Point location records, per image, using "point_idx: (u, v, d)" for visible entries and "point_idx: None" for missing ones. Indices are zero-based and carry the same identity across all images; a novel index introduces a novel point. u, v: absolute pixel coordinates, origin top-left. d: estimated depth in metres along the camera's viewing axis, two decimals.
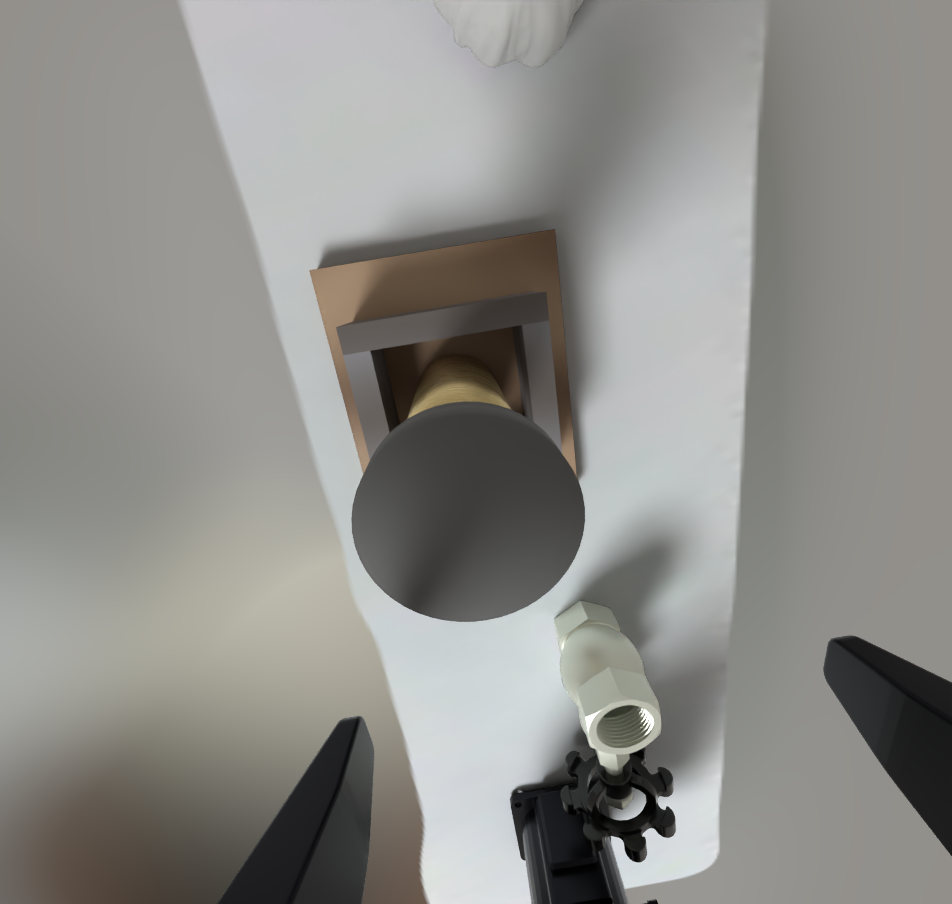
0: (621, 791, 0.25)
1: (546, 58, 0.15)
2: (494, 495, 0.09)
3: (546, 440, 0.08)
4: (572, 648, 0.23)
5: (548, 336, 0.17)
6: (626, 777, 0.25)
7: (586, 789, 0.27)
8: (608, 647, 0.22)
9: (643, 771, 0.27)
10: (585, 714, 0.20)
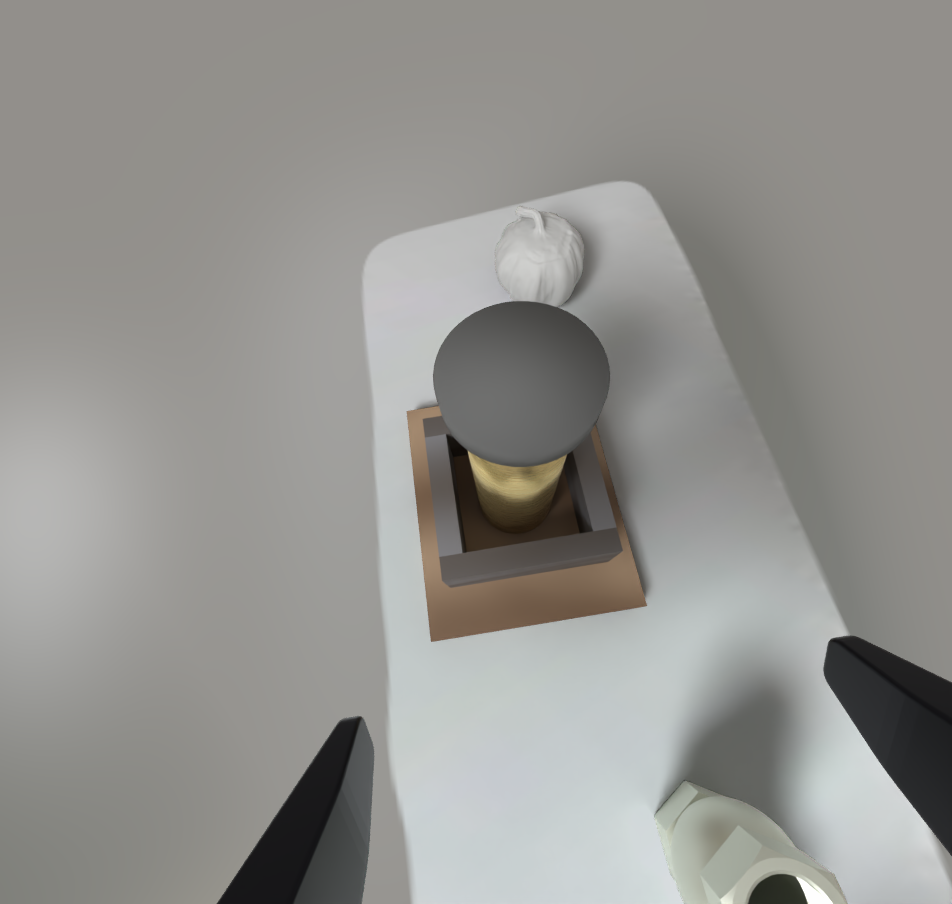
0: None
1: (564, 294, 0.26)
2: (537, 349, 0.12)
3: (570, 314, 0.12)
4: (682, 822, 0.16)
5: None
6: None
7: None
8: (733, 808, 0.15)
9: None
10: (719, 897, 0.13)
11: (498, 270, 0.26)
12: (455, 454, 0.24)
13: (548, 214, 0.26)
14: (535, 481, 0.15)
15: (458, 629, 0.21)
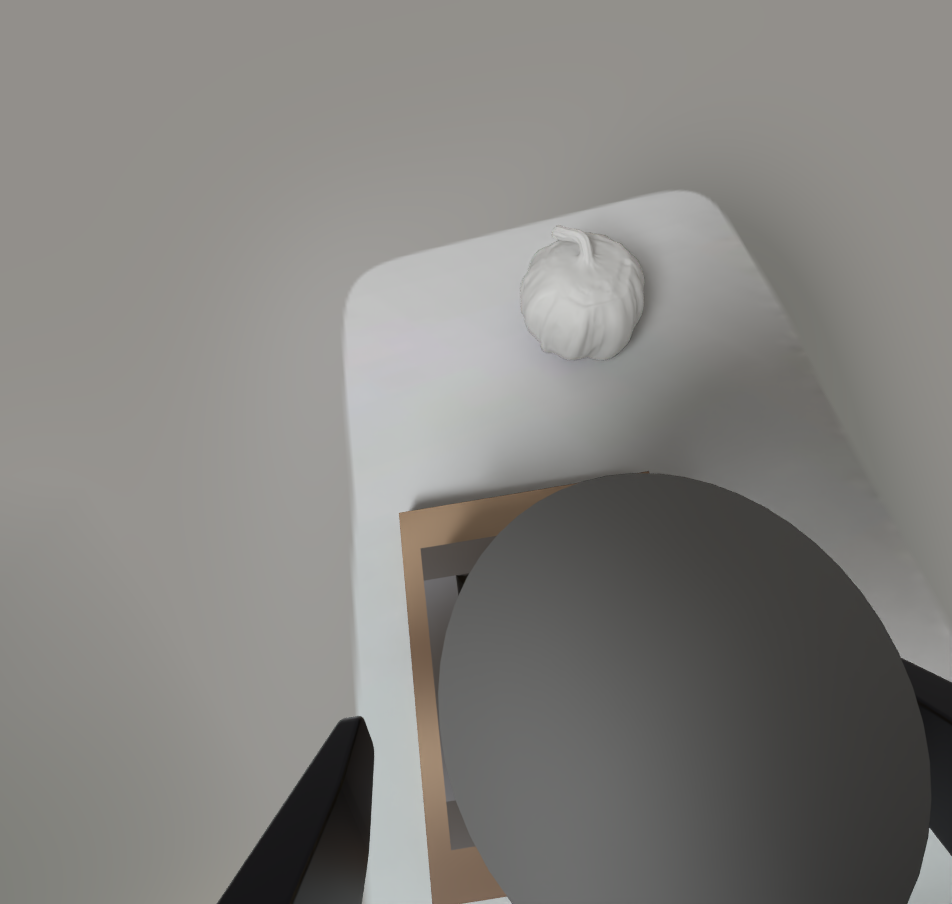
0: None
1: (618, 347, 0.19)
2: (705, 619, 0.05)
3: (774, 514, 0.05)
4: None
5: None
6: None
7: None
8: None
9: None
10: None
11: (526, 313, 0.19)
12: None
13: (596, 236, 0.19)
14: None
15: (475, 886, 0.13)
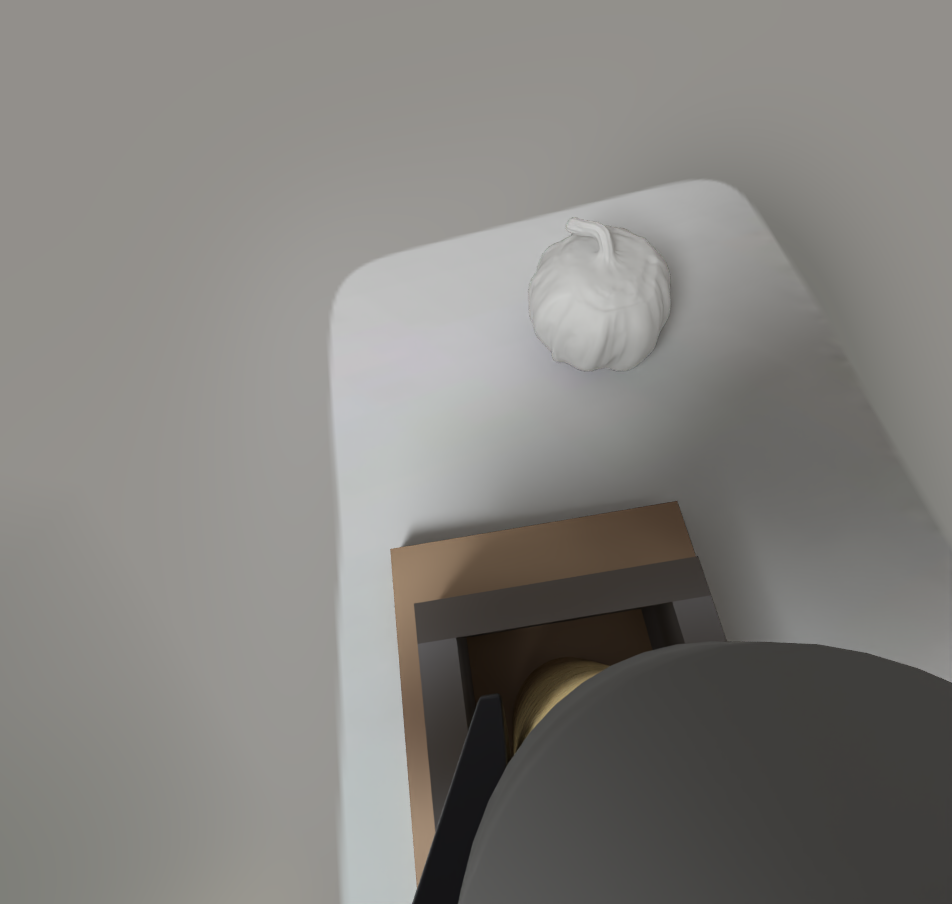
0: None
1: (641, 357, 0.16)
2: None
3: None
4: None
5: (715, 618, 0.11)
6: None
7: None
8: None
9: None
10: None
11: (536, 318, 0.17)
12: (470, 637, 0.14)
13: (616, 230, 0.16)
14: None
15: None
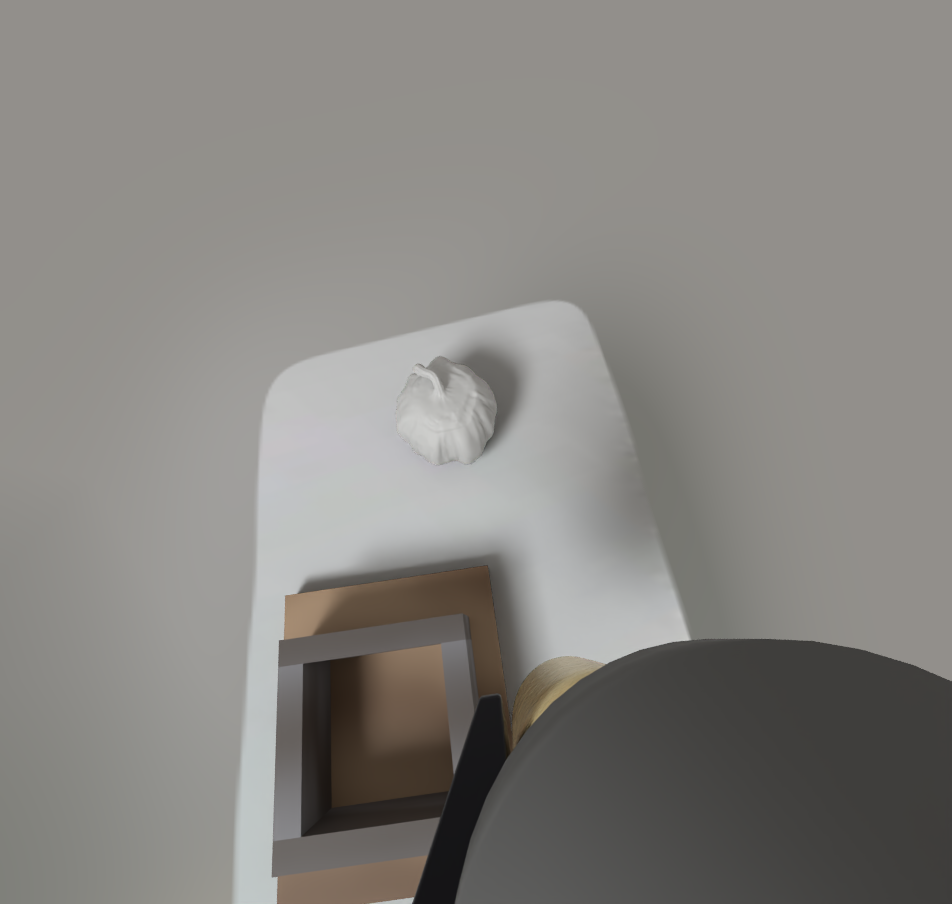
0: None
1: (470, 459, 0.23)
2: None
3: None
4: None
5: (465, 655, 0.18)
6: None
7: None
8: None
9: None
10: None
11: (397, 429, 0.23)
12: (330, 660, 0.21)
13: (453, 368, 0.23)
14: None
15: (310, 900, 0.18)
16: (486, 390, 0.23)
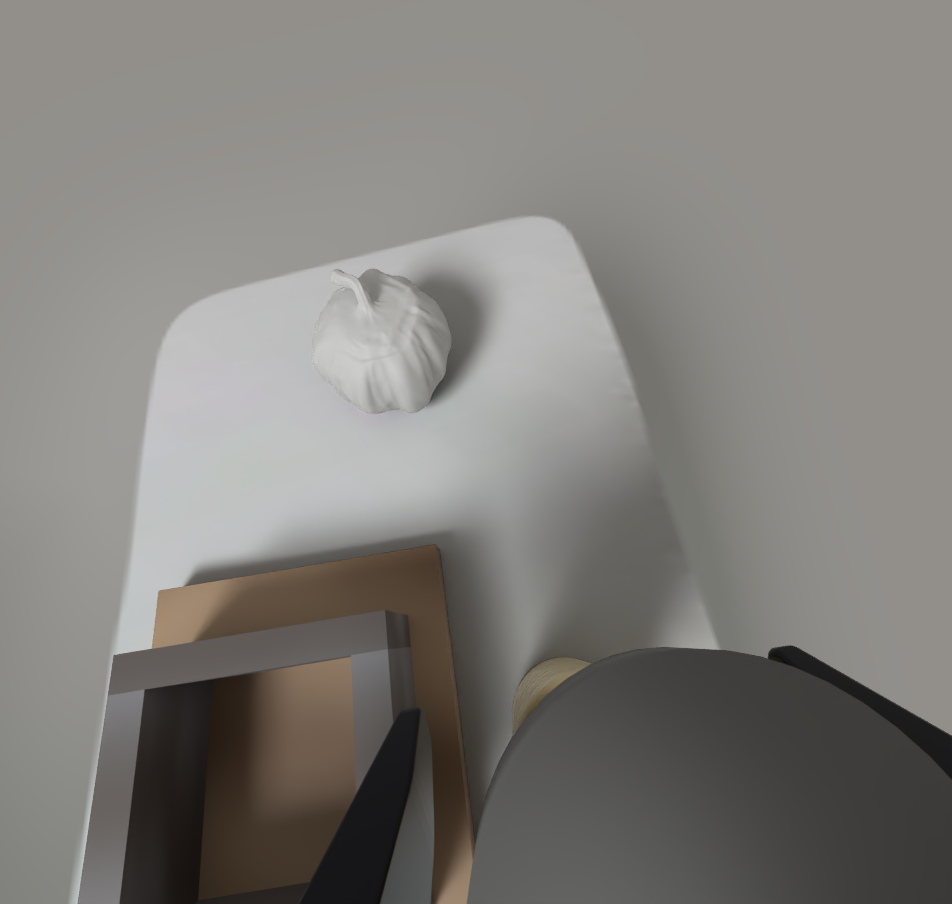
0: None
1: (412, 402, 0.17)
2: (797, 863, 0.04)
3: (875, 713, 0.04)
4: None
5: (385, 672, 0.12)
6: None
7: None
8: None
9: None
10: None
11: None
12: (210, 680, 0.15)
13: (388, 279, 0.17)
14: None
15: None
16: (432, 307, 0.17)
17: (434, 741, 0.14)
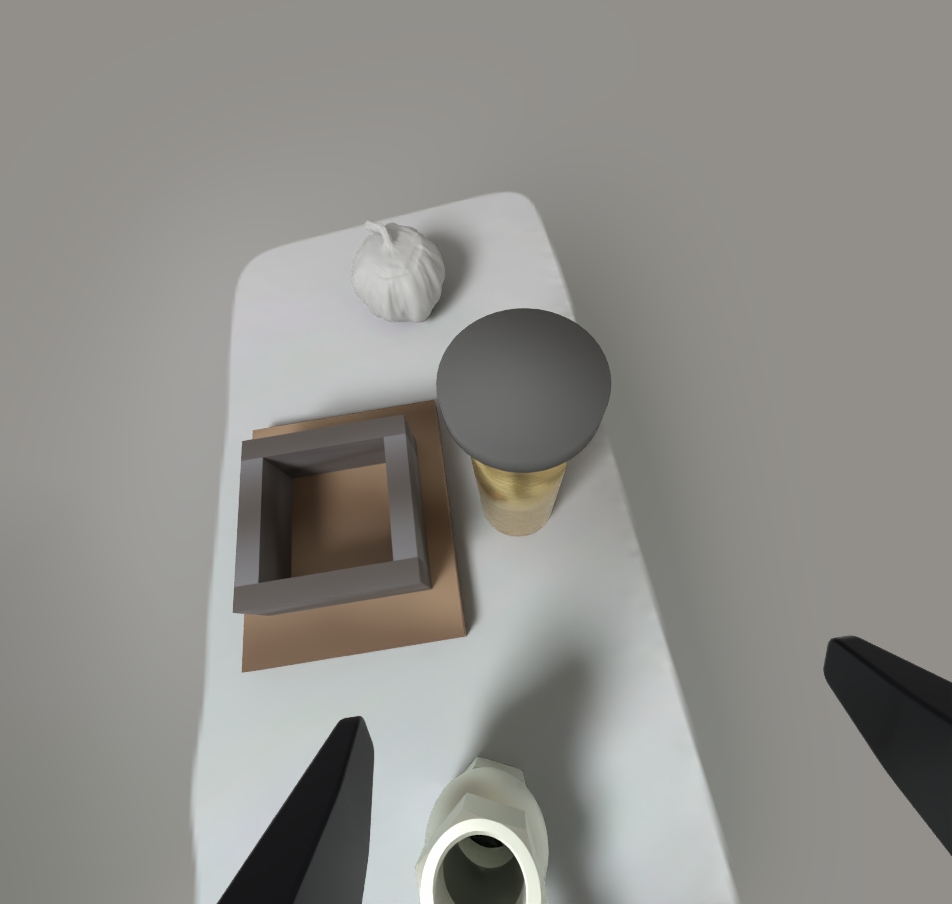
0: None
1: (419, 310, 0.25)
2: (539, 356, 0.12)
3: (572, 321, 0.13)
4: (438, 797, 0.16)
5: (404, 444, 0.20)
6: None
7: None
8: (478, 776, 0.16)
9: None
10: (417, 865, 0.13)
11: None
12: (291, 475, 0.23)
13: (402, 228, 0.25)
14: (537, 485, 0.15)
15: (271, 659, 0.20)
16: (432, 246, 0.25)
17: (432, 506, 0.22)
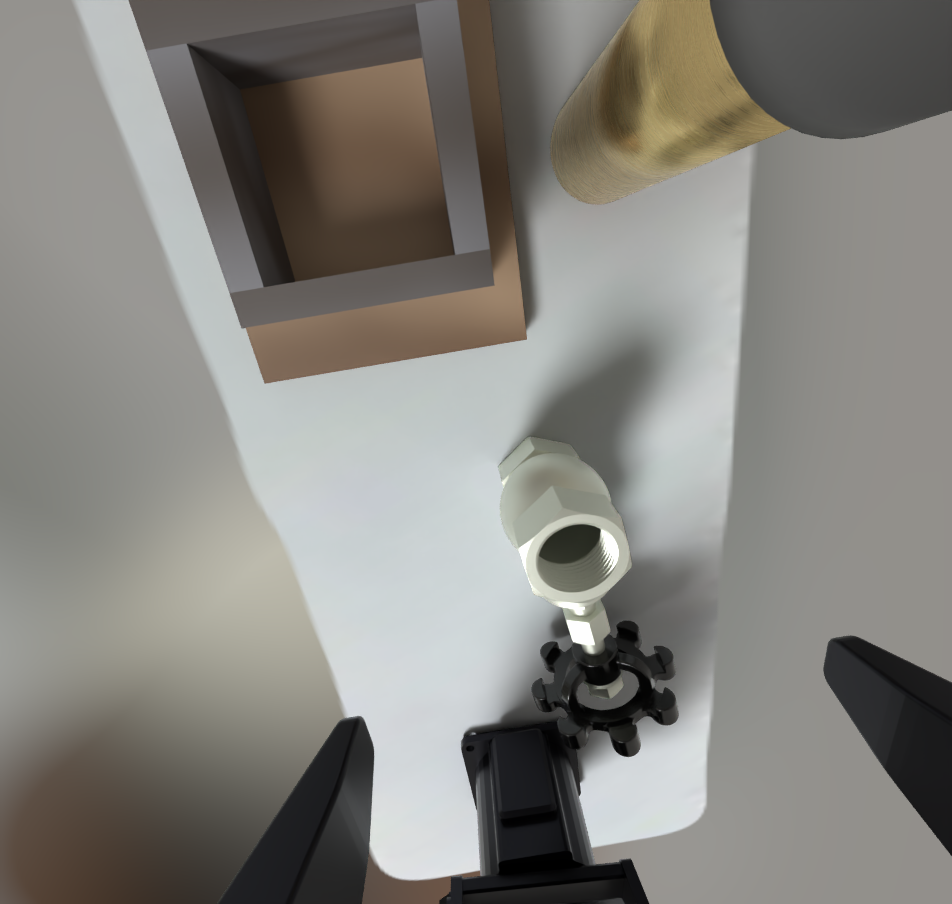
0: (604, 674, 0.19)
1: None
2: None
3: None
4: (510, 481, 0.17)
5: (456, 26, 0.11)
6: (609, 656, 0.19)
7: None
8: (554, 467, 0.16)
9: (636, 653, 0.21)
10: (519, 546, 0.14)
11: None
12: (239, 84, 0.13)
13: None
14: None
15: (296, 369, 0.17)
16: None
17: (483, 154, 0.15)
